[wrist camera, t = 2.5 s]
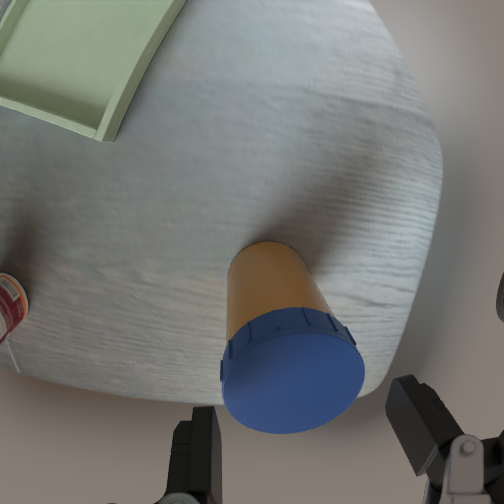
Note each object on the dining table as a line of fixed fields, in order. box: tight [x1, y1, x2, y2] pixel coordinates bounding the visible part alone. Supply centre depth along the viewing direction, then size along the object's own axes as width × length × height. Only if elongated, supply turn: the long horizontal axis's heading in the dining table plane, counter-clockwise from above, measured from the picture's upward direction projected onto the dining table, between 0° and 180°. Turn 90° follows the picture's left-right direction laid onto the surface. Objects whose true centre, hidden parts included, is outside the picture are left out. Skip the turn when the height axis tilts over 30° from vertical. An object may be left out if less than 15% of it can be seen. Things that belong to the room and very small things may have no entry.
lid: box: [220, 306, 365, 434], centre depth 12 cm, size 6×6×2 cm
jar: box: [226, 241, 335, 347], centre depth 17 cm, size 6×6×11 cm
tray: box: [0, 0, 187, 142], centre depth 14 cm, size 14×11×2 cm
